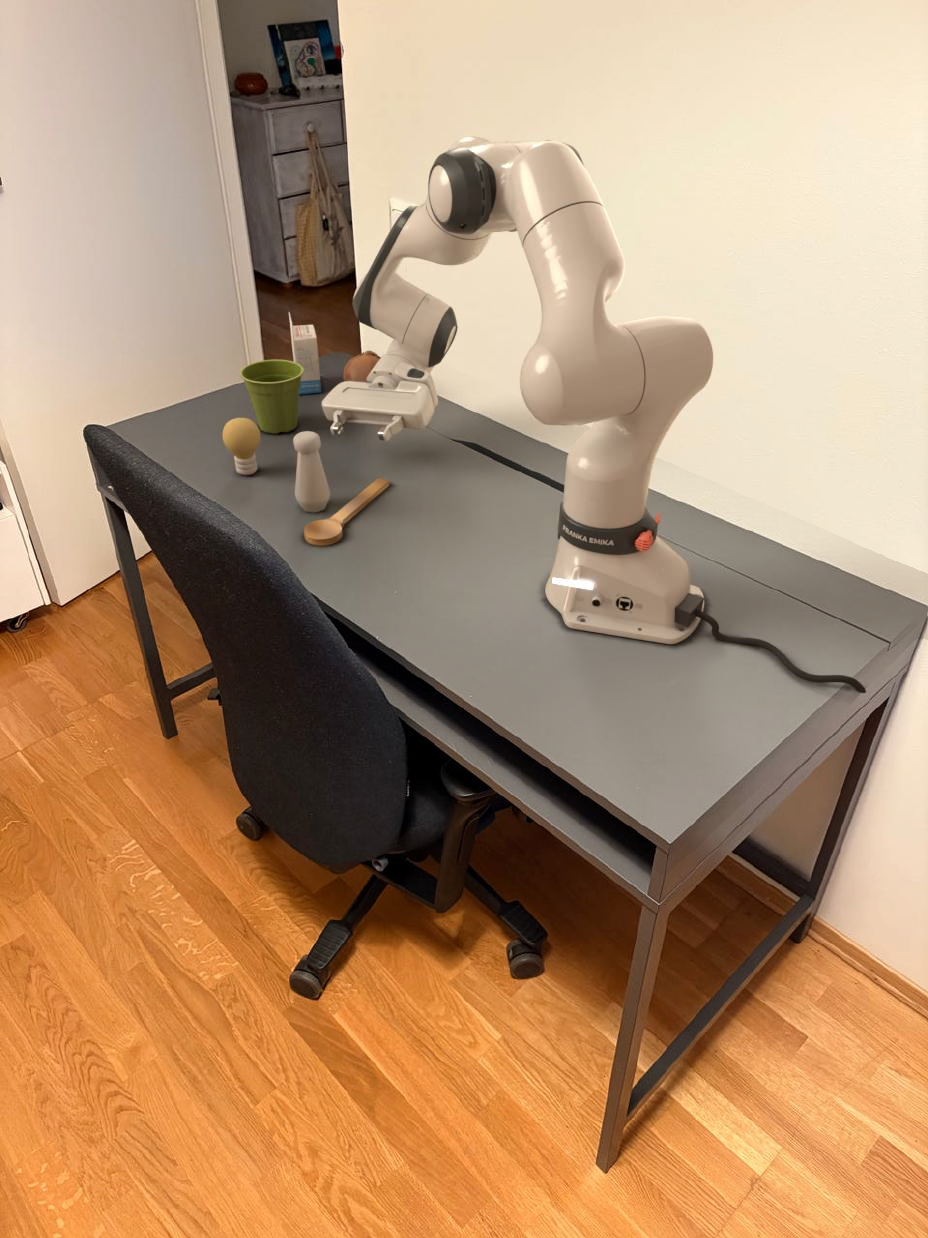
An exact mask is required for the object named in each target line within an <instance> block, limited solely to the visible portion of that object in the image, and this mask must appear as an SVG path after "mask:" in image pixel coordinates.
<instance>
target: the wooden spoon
mask: <svg viewBox="0 0 928 1238" xmlns="http://www.w3.org/2000/svg"><path fill="white" fill-rule="evenodd" d="M390 484H391V483H390V480H389V479H385V478H381V477H378V478H376V479H375V480H374V481H373V482H372V483H370V484H369V485H368V486H366V488H364V489H363V490H362V491H361V492H359V493H358V494H357V495H355V497H353V498H352V499H351V500H350V501H349V502H347V504H344V506H343V507H341V508H340V509H339V510H338V511H337V512H336V513H334V514H333V515H332V516H330V517H326V519H318V520H314V521H311V522H309V523H308V524H306V525H305V527H304V529H303V536H304V537H303V538H304V540H305V541H306V543H308V544H310V545H313V546H321V547H322V546H330V545H333V544H335V543H337V542H339V541H340V540H341V539H342V537H343V535H344V534H343V529H344V528H345V524H347V523H348V522H349V521H350V520H351V519H352V518H354V517H355V516H356V515H358V514H359V512H360V511H361V510H363V509H364V508H365V507H366V506H367V505H369V504H370V503H371V502H372V501H374V499H376V498H377V497H378V496H379V495H381V493H383V492H384V491H385V490H386V489H387V488H389V486H390Z"/></svg>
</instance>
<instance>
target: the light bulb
mask: <svg viewBox="0 0 928 1238" xmlns="http://www.w3.org/2000/svg"><path fill="white" fill-rule="evenodd" d="M260 431H261V430H260V427H259V426H258V424H256V423H255V422H254V421H253V420H251V419H250V418H246V417H236V418H233V419H230V420H229V421H227V422H226V423H225V425H224V427H223V430H222V441H223V444H224V446H225V447H226V449H227V450H229V452H230V453H232V454H233V461H234V466H235V471H236V473H238V474H240V475H242V476H250V475H253V474H254V473H256V472H257V471H258V463H257V456H256V451H257V449H258V448H259V446H260V443H261V439H262V438H261V437H262V436H261V432H260Z"/></svg>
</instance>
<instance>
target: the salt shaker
mask: <svg viewBox="0 0 928 1238" xmlns="http://www.w3.org/2000/svg"><path fill="white" fill-rule="evenodd" d="M292 443H293V447H294V450H295V451H296V452H297V458H296V471H295V473H296V474H295V484H294V497H295V500H296V501H297V503H298V504H299V506H300V507H301V508H302V509H303V511H304V512H305V513H315V514H316V513H319V512H321V511H324V510H326V507H327V505H328V502H329V500H330V498H331V490H330V487H329V483H328V480H327V477H326V473H325V470H324V466H323V462H322V459H321V456H320V451H319V450H320V449H321V446H322V441H321V438H320V435H319V434H318V433H317V432H315V431H310V430H306V431H304V430H303V431H301V432H298V433H296V435H294V437H293V440H292Z"/></svg>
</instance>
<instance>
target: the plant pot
mask: <svg viewBox="0 0 928 1238" xmlns="http://www.w3.org/2000/svg"><path fill="white" fill-rule="evenodd" d="M303 373H304V368H303V367H302V366H301V365H300V364H298V363H296V362H294V360H293V361H292V360H287V359H264V360H258V361H255V362H252V363H249V364H246V365H244V366H243V367H242V368H241V369H240V370H239V377H240V378H241V379H242V380H243V381H244V384H245V387H246V389H247V391H248V394H249V398H250V401H251V404H252V407H253V411H254V414H255V417H256V422H257V425H258V428H259V430H260V431H262V432H264V433H267V434H279V433H281V432H283V433H288V432H292V431H293V430H294V429H296V427H298V417H299V415H298V414H299V400H300V399H299V398H300V394H299V386H300V384H301V375H302V374H303Z"/></svg>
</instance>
